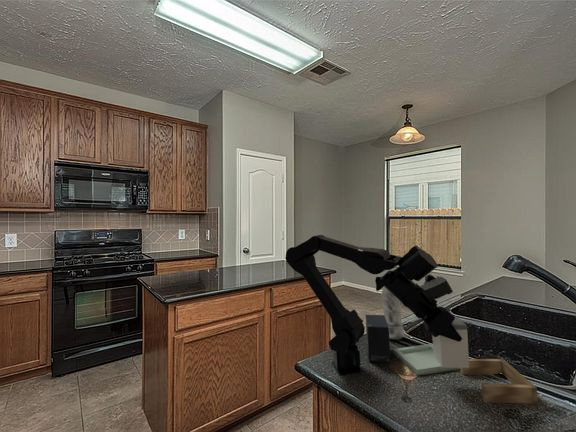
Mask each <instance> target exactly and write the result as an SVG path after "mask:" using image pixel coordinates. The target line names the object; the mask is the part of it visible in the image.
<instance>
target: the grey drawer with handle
mask: <svg viewBox="0 0 576 432" xmlns="http://www.w3.org/2000/svg"><path fill="white" fill-rule="evenodd" d="M453 316H454V317H455V320H454V321H453V322H452V323H451V324H452V325H453V327H454V328H455V329H456V331H457V332H458V333H459V335H460V336H461V337H462V340H461V341H460V342H458V341H455V340H452V339H449V338H447V337H444V336H440V335H439V336H438V337H434V336H433V335H432V334H431V338H432V345H433V355H434V357H435V358H436V360H437V361H438V363H439V364H440V365H441V367H448V368H469V359H470V358H469V357H470V356H469V339H468V338H469V337H468V336H469V335H468V325H467V324H466V323H465V322H463V320H461V319H460V318H459V317H458V316H455V315H453Z"/></svg>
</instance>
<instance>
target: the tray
mask: <svg viewBox="0 0 576 432" xmlns="http://www.w3.org/2000/svg"><path fill="white" fill-rule="evenodd" d="M392 352H393V355H394V356H395V357H396V358H397V359H398V360H399V361H401V362H402V363H403V364H404V365H405V366H406V367H408V369H410V371H411V372H412V373H414V374H415V375H416V376H423V375H429V374H437V373H441V372H449V371H455V370H461V369H460V368H448V367H441V365H440V364H439V363H438V361H437V360H436V358H435V357H434V355H433V343H432V344H431V343H428V344H427V343H426V344H420V345H412V346H406V347H400V348H399V347H397V348H393V349H392Z"/></svg>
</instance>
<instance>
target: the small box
mask: <svg viewBox="0 0 576 432" xmlns="http://www.w3.org/2000/svg"><path fill="white" fill-rule="evenodd" d="M364 316H365V333H366V350H367V351H366V352H367V359H368V362H374V363H391V347H390V346H391V345H390V339H389V327H388V324H387V321H386V318H385V315H383V314H382V315H381V314H364Z"/></svg>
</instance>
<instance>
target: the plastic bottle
mask: <svg viewBox="0 0 576 432" xmlns="http://www.w3.org/2000/svg"><path fill="white" fill-rule="evenodd" d="M380 297H381V302H382V306H383V314H384V315H385V318H386V321H387V324H388V327H389V340H394V341H396V340H401V339H402V338H403V337H404V335H405V329H404V325H403V321H402V314H401V310H402V309H401V308H402V307H401V304H402V302H401V301H400V300H399V299H397V298H396V297H395V296H394V295H393V294H392V293H391V292H390V291H388V290H387V289H386V288H385V287H383V288H382V291H381V296H380Z"/></svg>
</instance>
